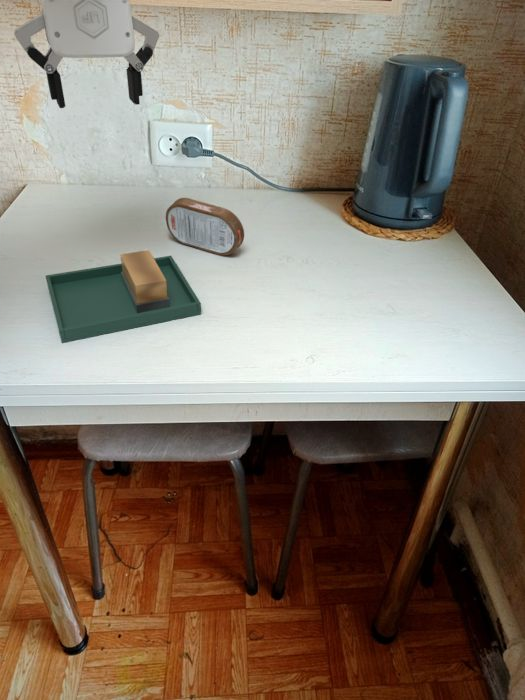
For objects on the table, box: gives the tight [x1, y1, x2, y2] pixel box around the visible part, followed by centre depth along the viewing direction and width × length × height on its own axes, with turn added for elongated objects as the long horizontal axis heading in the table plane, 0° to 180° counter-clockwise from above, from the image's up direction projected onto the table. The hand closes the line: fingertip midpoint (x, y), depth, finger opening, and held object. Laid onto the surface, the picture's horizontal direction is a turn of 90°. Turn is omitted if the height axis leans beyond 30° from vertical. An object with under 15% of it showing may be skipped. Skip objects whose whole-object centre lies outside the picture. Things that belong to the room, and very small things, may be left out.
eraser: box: [119, 249, 170, 313], centre depth 78 cm, size 5×10×5 cm, turn 25°
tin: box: [165, 197, 245, 256], centre depth 91 cm, size 15×3×8 cm, turn 65°
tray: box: [45, 255, 202, 344], centre depth 78 cm, size 20×15×2 cm
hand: (98, 103), depth 68 cm, fingers open, 9 cm apart
